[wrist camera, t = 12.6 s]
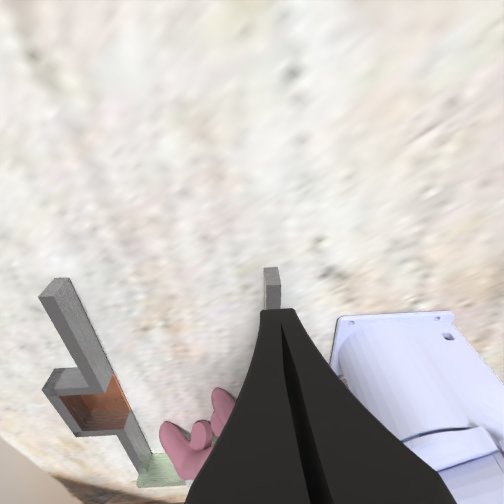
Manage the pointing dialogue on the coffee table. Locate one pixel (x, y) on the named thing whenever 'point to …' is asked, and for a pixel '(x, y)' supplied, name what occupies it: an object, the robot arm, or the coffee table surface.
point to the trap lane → (107, 382)
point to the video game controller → (196, 438)
